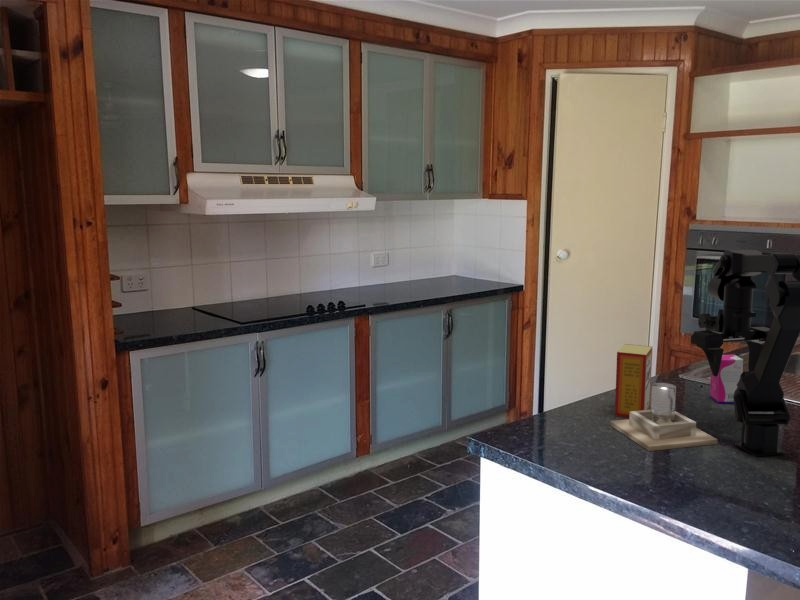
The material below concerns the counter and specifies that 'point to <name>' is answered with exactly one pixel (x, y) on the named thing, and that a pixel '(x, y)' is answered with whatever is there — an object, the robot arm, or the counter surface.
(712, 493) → the counter surface
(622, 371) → the baking soda box
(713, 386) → the supplement box
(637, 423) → the square peg hole base
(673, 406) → the aluminium peg
